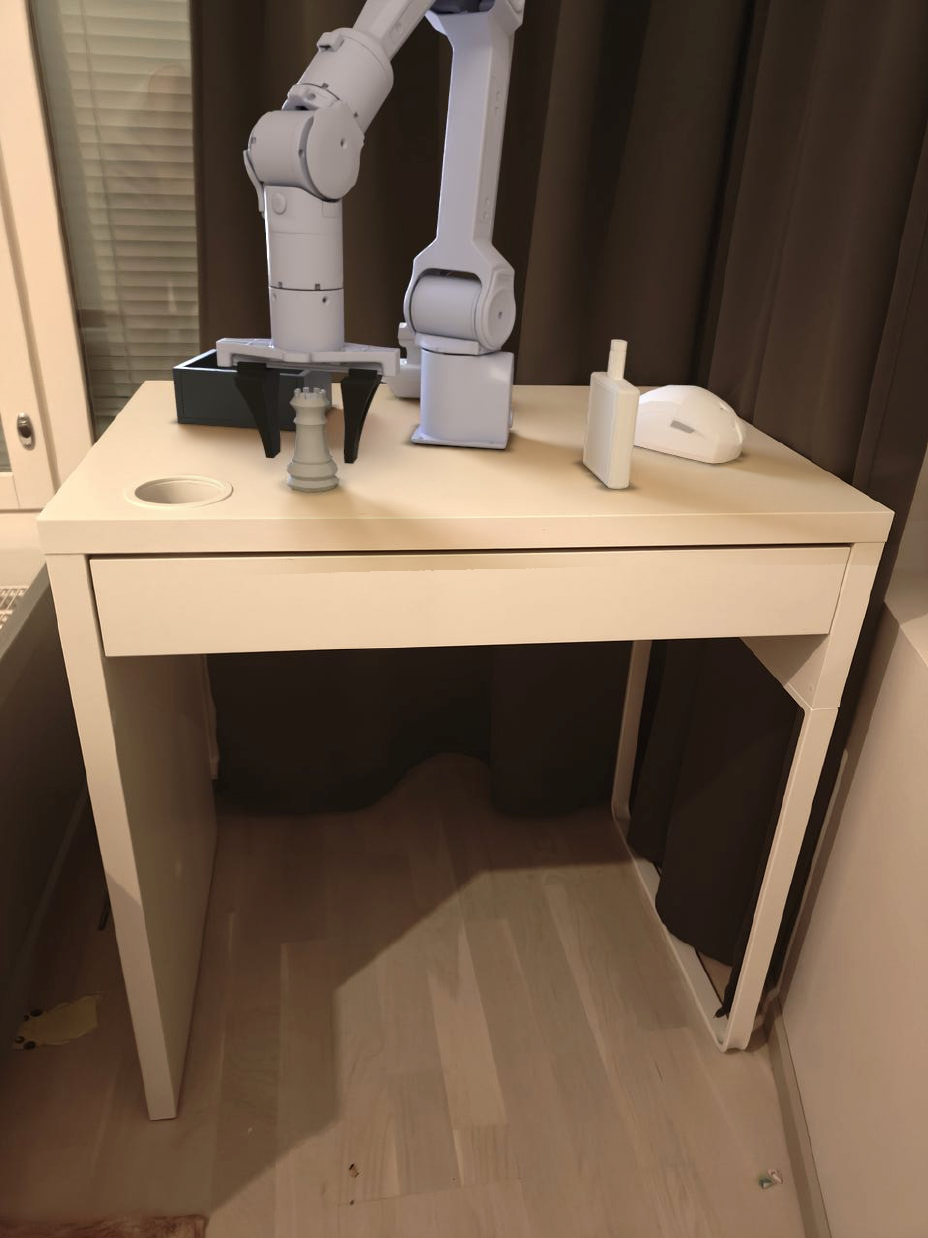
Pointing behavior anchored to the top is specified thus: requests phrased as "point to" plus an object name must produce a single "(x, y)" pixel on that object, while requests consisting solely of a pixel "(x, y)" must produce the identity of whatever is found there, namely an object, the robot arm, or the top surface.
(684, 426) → the computer mouse
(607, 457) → the perfume bottle
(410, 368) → the white mechanical part
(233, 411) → the storage bin
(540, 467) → the top surface
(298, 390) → the rook chess piece
